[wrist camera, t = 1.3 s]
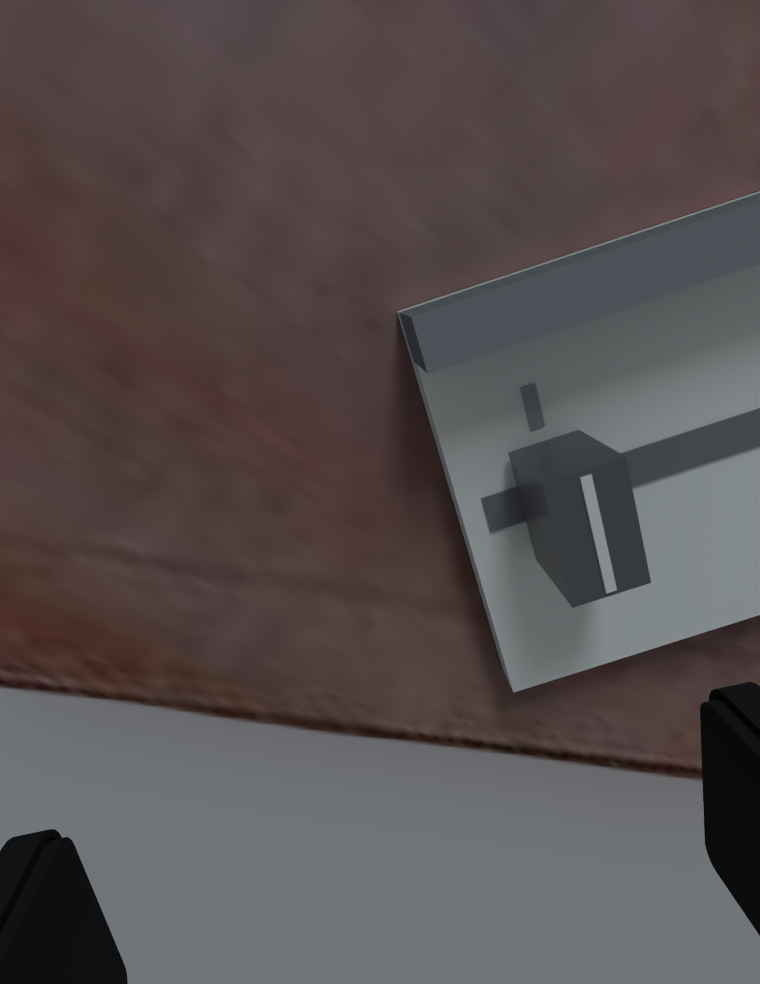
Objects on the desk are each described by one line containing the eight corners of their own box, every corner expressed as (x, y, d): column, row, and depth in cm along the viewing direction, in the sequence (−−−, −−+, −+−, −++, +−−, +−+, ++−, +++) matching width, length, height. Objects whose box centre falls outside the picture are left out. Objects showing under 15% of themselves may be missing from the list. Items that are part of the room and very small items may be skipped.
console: (867, 155, 26) (986, 126, 21) (892, 545, 32) (990, 590, 27) (396, 311, 27) (411, 317, 22) (502, 668, 32) (532, 734, 28)
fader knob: (579, 429, 26) (627, 457, 22) (602, 538, 28) (652, 584, 24) (508, 452, 26) (542, 484, 22) (536, 559, 28) (573, 609, 24)
